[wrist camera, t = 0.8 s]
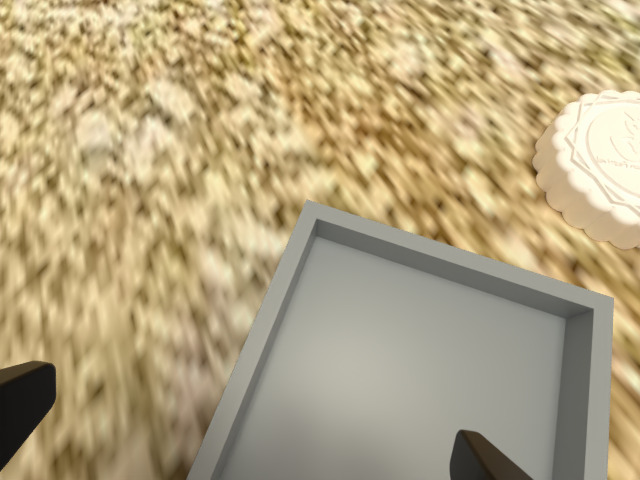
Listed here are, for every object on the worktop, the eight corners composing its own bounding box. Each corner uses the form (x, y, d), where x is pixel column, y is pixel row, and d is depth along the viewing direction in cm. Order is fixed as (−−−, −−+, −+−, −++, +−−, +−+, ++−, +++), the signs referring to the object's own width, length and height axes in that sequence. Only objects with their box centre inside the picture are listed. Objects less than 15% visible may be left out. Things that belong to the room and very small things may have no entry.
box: (543, 687, 17) (596, 751, 14) (183, 524, 19) (157, 547, 16) (573, 312, 24) (614, 298, 21) (307, 225, 26) (306, 199, 23)
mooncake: (681, 131, 31) (725, 98, 27) (710, 269, 26) (768, 248, 22) (529, 105, 31) (554, 70, 28) (530, 233, 27) (561, 208, 23)
